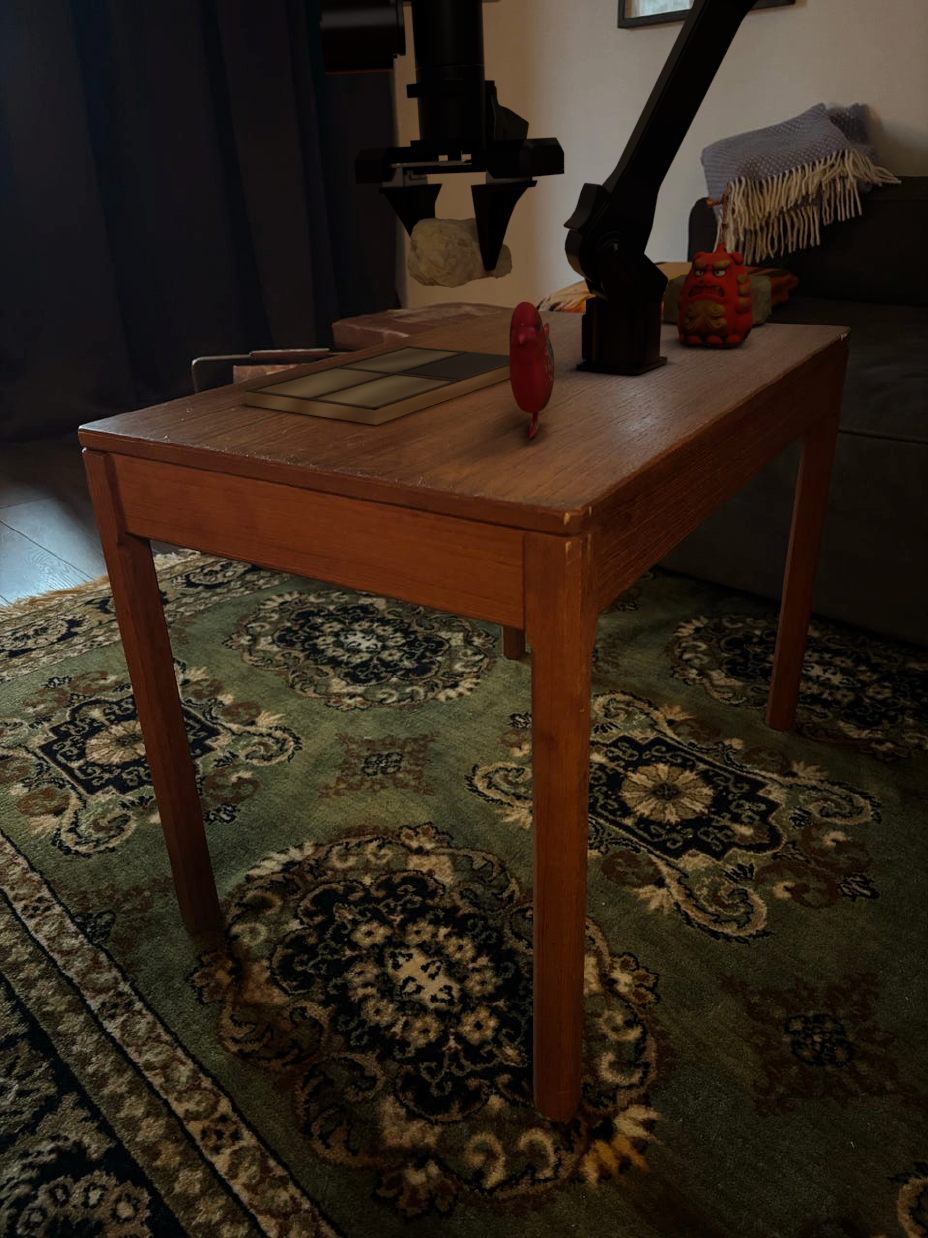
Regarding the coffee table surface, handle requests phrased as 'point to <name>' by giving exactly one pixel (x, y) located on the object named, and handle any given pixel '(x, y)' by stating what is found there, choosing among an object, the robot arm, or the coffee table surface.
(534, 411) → the decorative bird figurine
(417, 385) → the board
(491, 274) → the stone tool
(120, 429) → the coffee table surface
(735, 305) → the red clay folk toy
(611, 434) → the coffee table surface
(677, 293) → the stone block
